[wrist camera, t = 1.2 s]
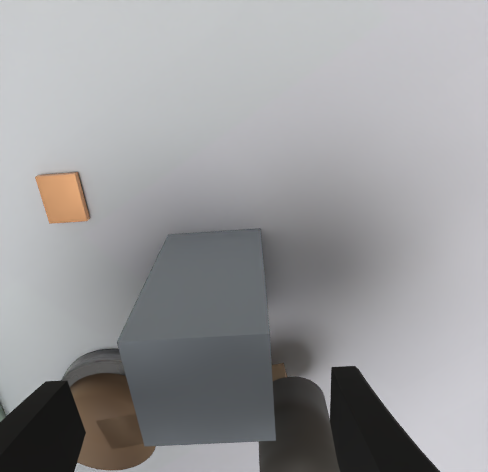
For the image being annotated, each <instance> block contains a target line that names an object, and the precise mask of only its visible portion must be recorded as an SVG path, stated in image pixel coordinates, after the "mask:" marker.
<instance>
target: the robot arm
mask: <svg viewBox="0 0 488 472" xmlns="http://www.w3.org/2000/svg"><path fill="white" fill-rule="evenodd" d="M330 425H331V430H332V436H333V441H334V447H335V452H336V457H337V462H338V466H339V469H340V472H440V471H439V470H438V469H437V468H436V467H435V465H434V464H433V463H432V462H431V461H430V460H429V459H428V458H427V457H426V455H425V454H424V453H423V452H422V451H421V450H420V449H419V447H418V446H417V445H416V444H415V443H414V442H413V440H412V439H411V438H410V437H409V435H408V434H407V433H406V432H405V431H404V429H403V428H402V427H401V426H400V425H399V423H398V422H397V421H396V420H395V418H394V417H393V416H392V415H391V413H390V412H389V411H388V410H387V408H386V407H385V406H384V404H383V403H382V402H381V400H380V399H379V398H378V396H377V395H376V394H375V392H374V391H373V390H372V388H371V387H370V385H369V384H368V383H367V381H366V380H365V378H364V377H363V375H362V374H361V372H360V371H359V369H357V368H356V367H355V366H346V367H332V370H331V403H330ZM85 434H86V432H85V429H84V426H83V423H82V420H81V417H80V415H79V412H78V409H77V406H76V403H75V401H74V398H73V395H72V392H71V389H70V387H69V384H68V381H48V382H45V383H44V384H42V385H41V386H40V387H39V388H38V389H36V390H35V391H34V392H33V393H32V394H31V395H30V396H29V397H27V398H26V399H25V400H24V401H23V402H22V403H21V404H20V405H18V406H17V407H16V408H15V409H14V410H13V411H12V412H11V413H10V414H9V415H7V416H6V417H5V418H4V419H3V420H2V421H1V422H0V472H74V470H75V467H76V464H77V461H78V458H79V455H80V451H81V448H82V444H83V441H84V437H85Z"/></svg>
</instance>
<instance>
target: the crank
mask: <svg viewBox="0 0 488 472" xmlns="http://www.w3.org/2000/svg"><path fill="white" fill-rule="evenodd" d="M272 380H273V398H274V416H275V434H276V441H259V464H260V472H340V469H339V466H338V462H337V457H336V452H335V447H334V441H333V436H332V430H331V425H330V418H329V414H328V410H327V406H326V402H325V398H324V394H323V392H322V390H321V389H320V387H319V386H318V385H317V384H315V383H314V382H312V381H310V380H308V379H305V378H301V377H287V374H286V370H285V367H284V363H280V364H275V365H272ZM70 389H71V392H72V395H73V398H74V401H75V403H76V406H77V409H78V412H79V415H80V417H81V420H82V423H83V426H84V429H85V432H86V434H85V437H84V441H83V444H82V448H81V451H80V455H79V458H78V461H77V462H78V463H80V464H82V465H85V466H88V467H91V468H96V469H101V470H123V469H128V468H131V467H134V466H137V465H139V464H141V463H142V462H144V461H145V460H147V459H148V458H149V457H150V456H151V455H152V453H153V452H154V450H155V447H156V446H144V442H143V438H142V434H141V431H140V427H139V423H138V419H137V416H136V412H135V408H134V404H133V401H132V397H131V393H130V389H129V386H128V382H127V378H126V376H124V375H119V374H112V373H99V374H93V375H89V376H86V377H83V378H81V379H79V380H78V381H76V382H75V383H73V384H72V385H71V386H70Z"/></svg>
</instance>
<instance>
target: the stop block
mask: <svg viewBox="0 0 488 472" xmlns="http://www.w3.org/2000/svg"><path fill="white" fill-rule="evenodd" d="M117 344H118V348H119V352H120V356H121V359H122V363H123V367H124V371H125V374H126V378H127V382H128V386H129V389H130V393H131V397H132V401H133V404H134V408H135V412H136V416H137V419H138V423H139V427H140V431H141V434H142V438H143V442H144V446H167V445H189V444H211V443H234V442H256V441H276V434H275V416H274V398H273V380H272V363H271V345H270V329H269V318H268V307H267V296H266V285H265V274H264V263H263V251H262V240H261V229H246V230H230V231H215V232H200V233H185V234H169V235H168V236H167V238H166V241H165V243H164V245H163V247H162V249H161V251H160V253H159V255H158V257H157V259H156V261H155V264H154V266H153V268H152V270H151V272H150V274H149V276H148V278H147V280H146V282H145V284H144V287H143V289H142V291H141V293H140V295H139V297H138V299H137V301H136V303H135V305H134V308H133V310H132V312H131V314H130V316H129V318H128V320H127V322H126V324H125V326H124V328H123V331H122V333H121V335H120V337H119V339H118V341H117Z"/></svg>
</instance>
